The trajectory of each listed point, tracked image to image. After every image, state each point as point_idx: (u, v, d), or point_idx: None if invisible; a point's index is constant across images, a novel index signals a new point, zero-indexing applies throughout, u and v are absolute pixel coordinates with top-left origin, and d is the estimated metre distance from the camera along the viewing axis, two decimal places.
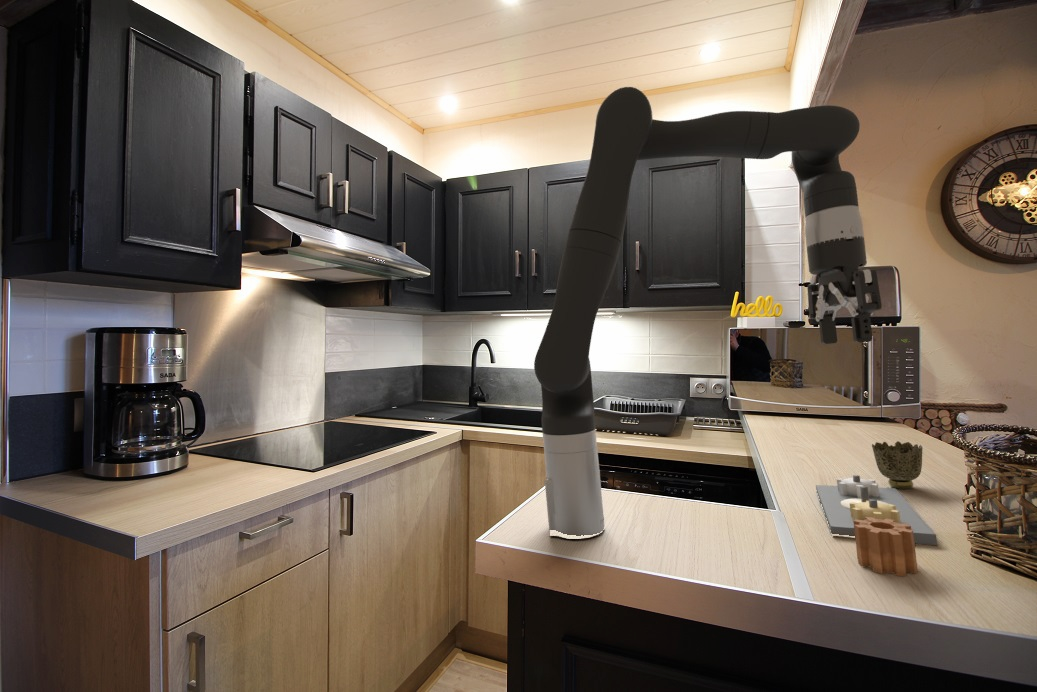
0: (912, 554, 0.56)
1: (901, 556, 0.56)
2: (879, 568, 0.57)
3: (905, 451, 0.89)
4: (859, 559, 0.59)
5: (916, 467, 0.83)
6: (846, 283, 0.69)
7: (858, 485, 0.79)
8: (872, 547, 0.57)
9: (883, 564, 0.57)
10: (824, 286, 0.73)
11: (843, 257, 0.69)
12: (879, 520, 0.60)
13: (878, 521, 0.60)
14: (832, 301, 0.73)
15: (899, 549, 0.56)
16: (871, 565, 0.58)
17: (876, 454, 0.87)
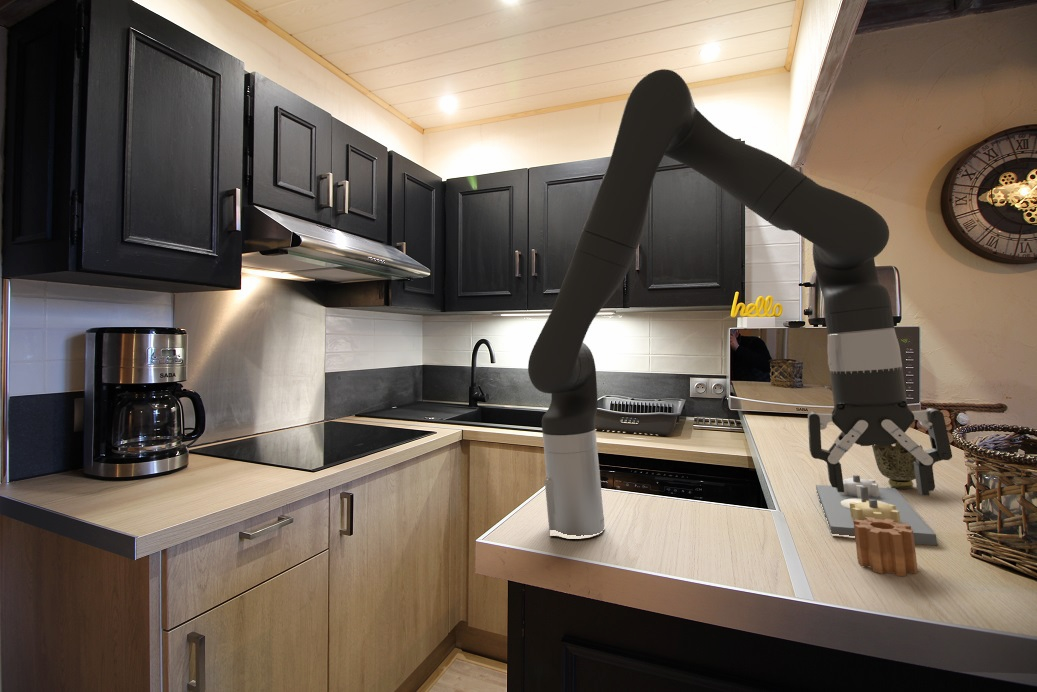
0: (912, 554, 0.56)
1: (901, 556, 0.56)
2: (879, 568, 0.57)
3: (905, 451, 0.89)
4: (859, 559, 0.59)
5: None
6: (909, 422, 0.56)
7: (858, 485, 0.79)
8: (872, 547, 0.57)
9: (883, 564, 0.57)
10: (866, 422, 0.58)
11: None
12: (879, 520, 0.60)
13: (878, 521, 0.60)
14: (872, 441, 0.58)
15: (899, 549, 0.56)
16: (871, 565, 0.58)
17: (876, 454, 0.87)
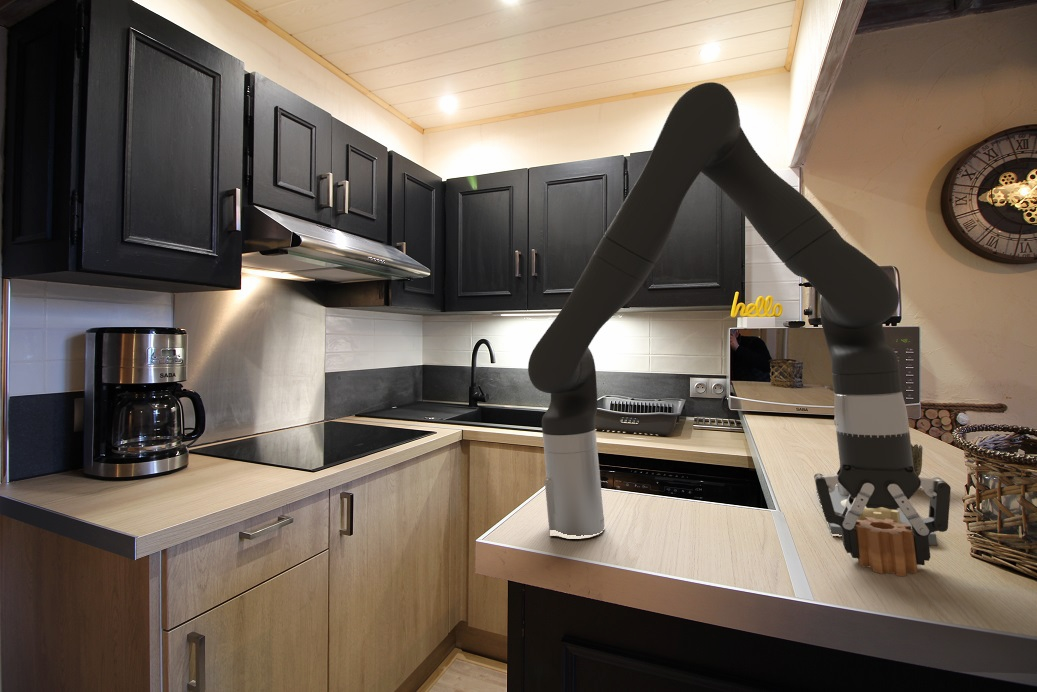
0: (912, 554, 0.56)
1: (901, 556, 0.56)
2: (879, 568, 0.57)
3: None
4: (859, 558, 0.59)
5: (916, 467, 0.83)
6: (914, 488, 0.56)
7: None
8: (872, 547, 0.57)
9: (883, 564, 0.57)
10: (872, 485, 0.58)
11: None
12: (879, 520, 0.60)
13: (878, 521, 0.60)
14: (878, 504, 0.58)
15: (899, 549, 0.56)
16: (871, 565, 0.58)
17: None
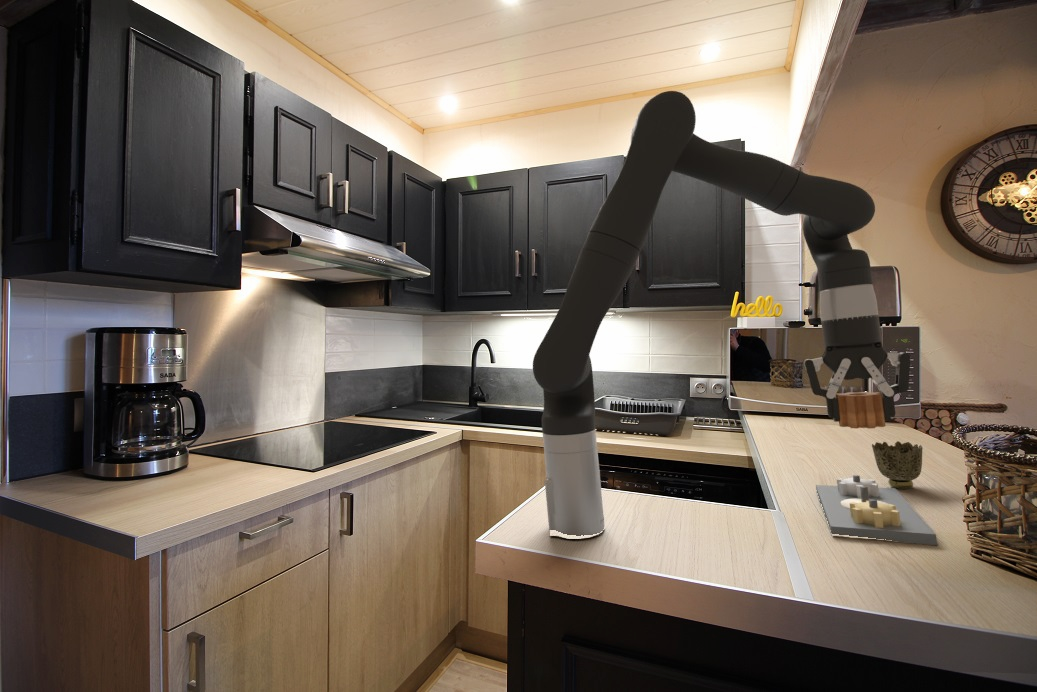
0: (881, 411, 0.71)
1: (871, 412, 0.70)
2: (854, 424, 0.71)
3: (905, 451, 0.89)
4: None
5: (916, 467, 0.83)
6: (882, 360, 0.71)
7: (858, 485, 0.79)
8: (849, 408, 0.72)
9: (857, 421, 0.71)
10: (849, 360, 0.72)
11: (880, 334, 0.71)
12: None
13: (855, 393, 0.75)
14: (854, 375, 0.73)
15: (870, 407, 0.70)
16: (849, 424, 0.73)
17: (876, 454, 0.87)
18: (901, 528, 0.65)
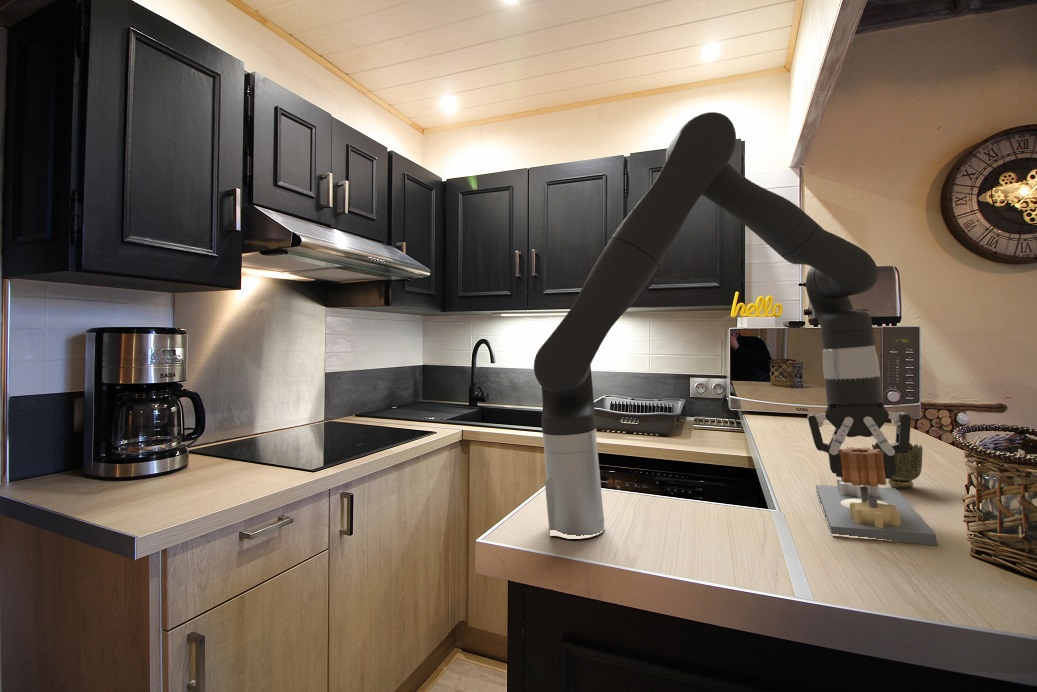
0: (882, 470, 0.73)
1: (873, 471, 0.72)
2: (857, 482, 0.73)
3: None
4: (842, 477, 0.76)
5: (916, 467, 0.83)
6: (883, 419, 0.73)
7: None
8: (851, 466, 0.74)
9: (860, 479, 0.73)
10: (852, 418, 0.74)
11: None
12: (858, 448, 0.77)
13: (857, 448, 0.77)
14: (856, 433, 0.75)
15: (872, 466, 0.72)
16: (851, 481, 0.75)
17: None
18: (901, 528, 0.65)
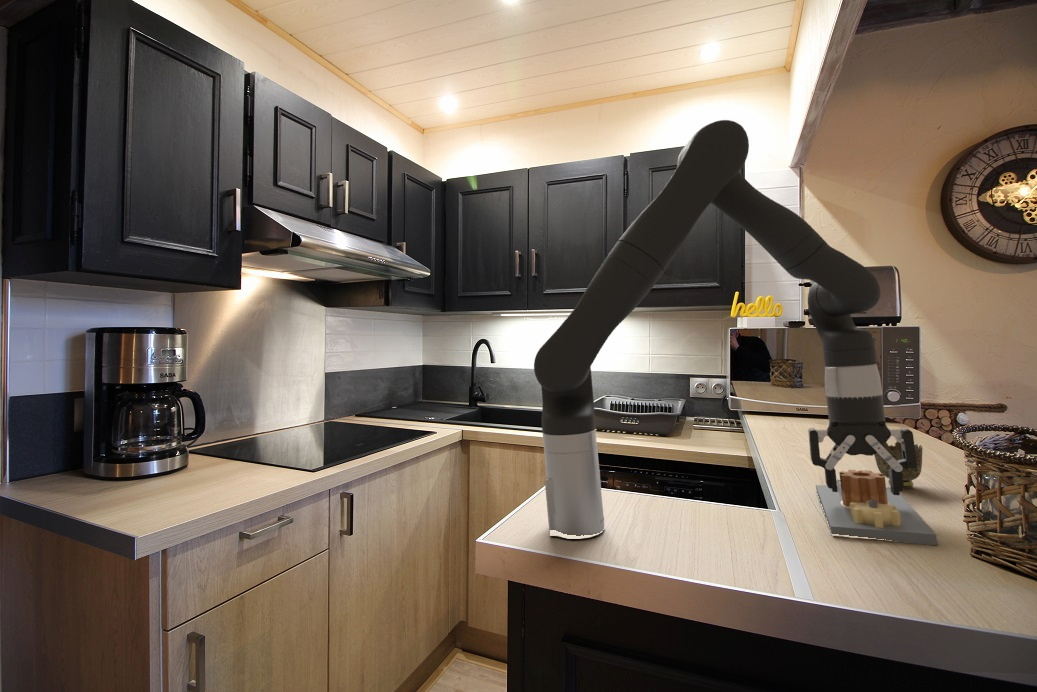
0: (884, 494, 0.73)
1: (875, 495, 0.72)
2: None
3: None
4: (843, 500, 0.76)
5: (916, 467, 0.83)
6: (886, 438, 0.73)
7: None
8: (853, 490, 0.74)
9: None
10: (854, 437, 0.74)
11: None
12: (859, 471, 0.77)
13: (858, 471, 0.77)
14: (858, 451, 0.75)
15: (874, 490, 0.72)
16: None
17: (876, 454, 0.87)
18: (901, 528, 0.65)
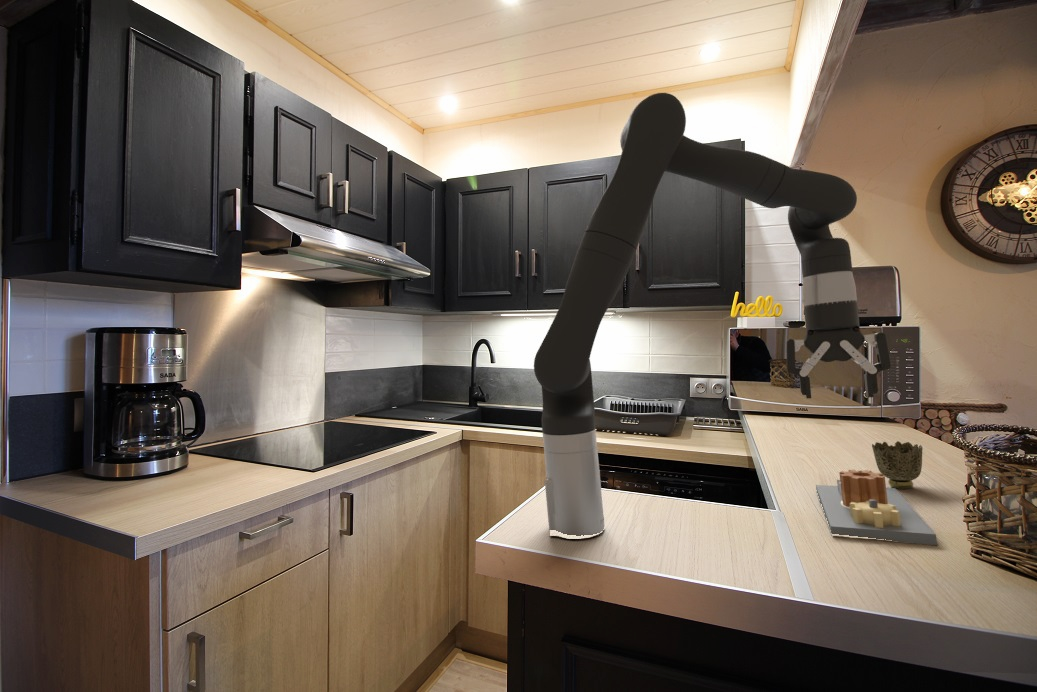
0: (884, 494, 0.73)
1: (875, 495, 0.72)
2: None
3: (905, 451, 0.89)
4: (843, 500, 0.76)
5: (916, 467, 0.83)
6: (860, 342, 0.75)
7: None
8: (853, 490, 0.74)
9: None
10: (829, 343, 0.76)
11: (858, 318, 0.75)
12: (859, 471, 0.77)
13: (858, 471, 0.77)
14: (833, 358, 0.77)
15: (874, 490, 0.72)
16: None
17: (876, 454, 0.87)
18: (901, 528, 0.65)
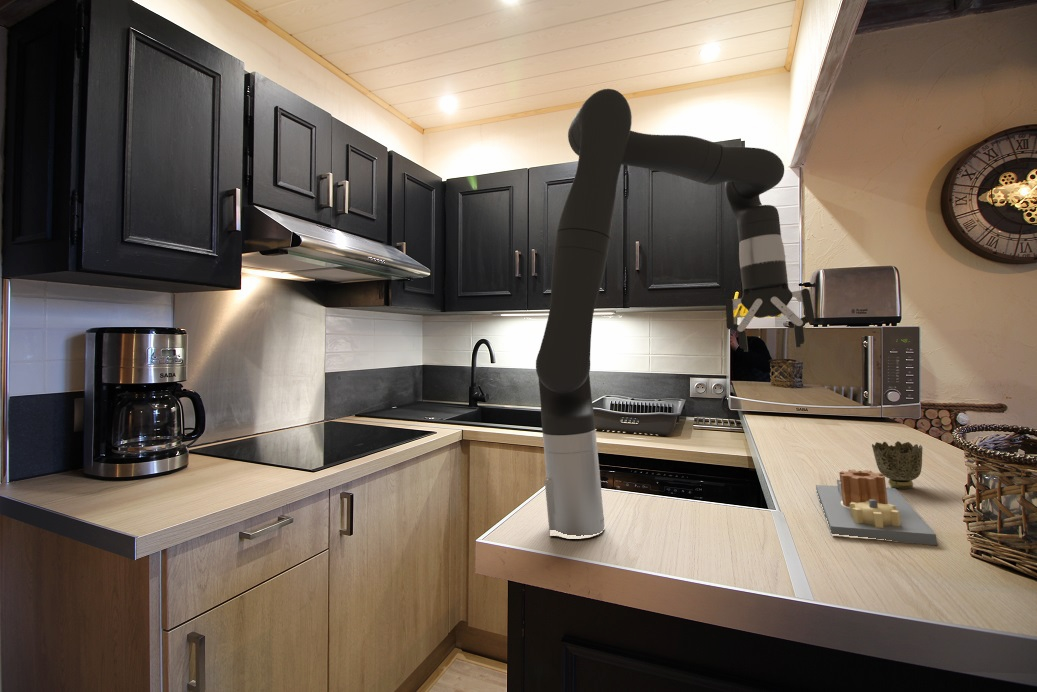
0: (884, 494, 0.73)
1: (875, 495, 0.72)
2: None
3: (905, 451, 0.89)
4: (843, 500, 0.76)
5: (916, 467, 0.83)
6: (788, 298, 0.83)
7: None
8: (853, 490, 0.74)
9: None
10: (761, 300, 0.85)
11: (786, 277, 0.83)
12: (859, 471, 0.77)
13: (858, 471, 0.77)
14: (765, 313, 0.85)
15: (874, 490, 0.72)
16: None
17: (876, 454, 0.87)
18: (901, 528, 0.65)
